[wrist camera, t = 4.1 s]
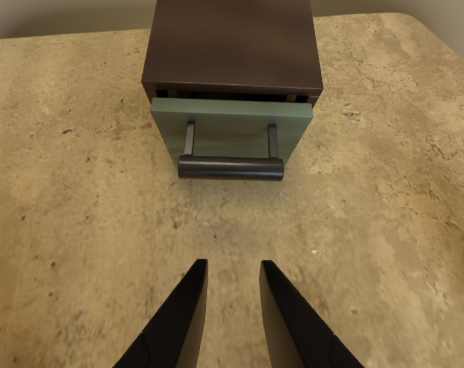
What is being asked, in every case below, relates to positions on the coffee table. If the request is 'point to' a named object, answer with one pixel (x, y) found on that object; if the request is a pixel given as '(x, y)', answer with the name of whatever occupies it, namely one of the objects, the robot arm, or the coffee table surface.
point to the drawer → (230, 133)
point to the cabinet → (233, 48)
